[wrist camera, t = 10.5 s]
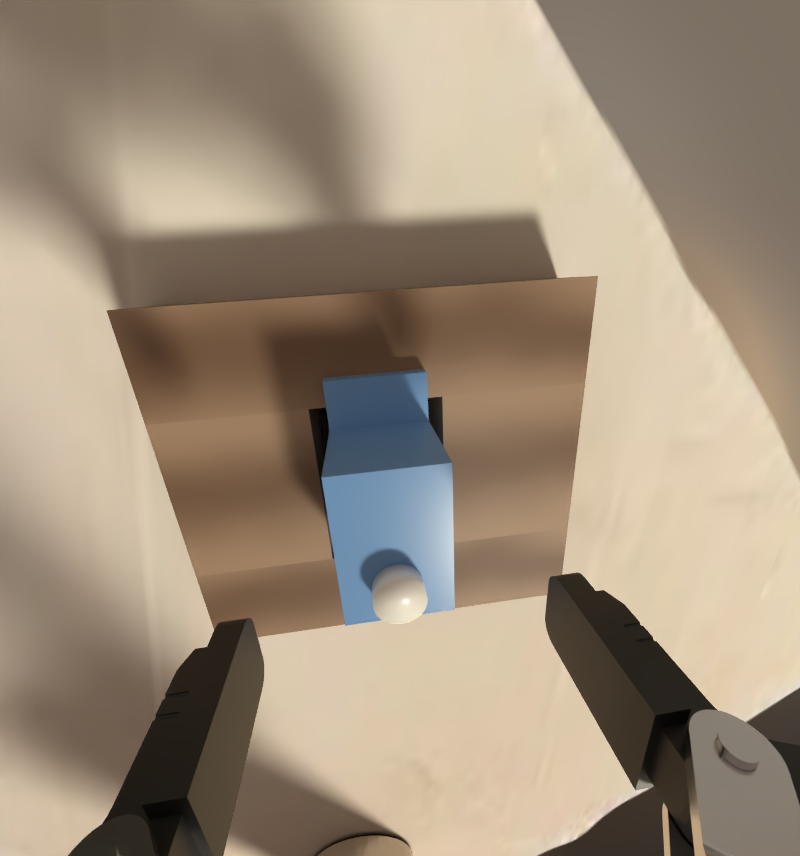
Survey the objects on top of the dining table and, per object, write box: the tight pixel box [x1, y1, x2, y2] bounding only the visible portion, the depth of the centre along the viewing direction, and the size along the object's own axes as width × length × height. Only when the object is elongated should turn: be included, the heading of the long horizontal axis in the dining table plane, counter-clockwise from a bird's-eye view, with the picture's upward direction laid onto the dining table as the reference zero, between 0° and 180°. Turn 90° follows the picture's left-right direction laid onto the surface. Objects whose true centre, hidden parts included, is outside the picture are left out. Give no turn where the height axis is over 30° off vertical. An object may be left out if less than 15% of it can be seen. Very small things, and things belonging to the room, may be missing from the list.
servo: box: [321, 369, 455, 625], centre depth 15 cm, size 10×4×8 cm, turn 4°
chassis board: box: [107, 276, 598, 637], centre depth 18 cm, size 16×18×3 cm
